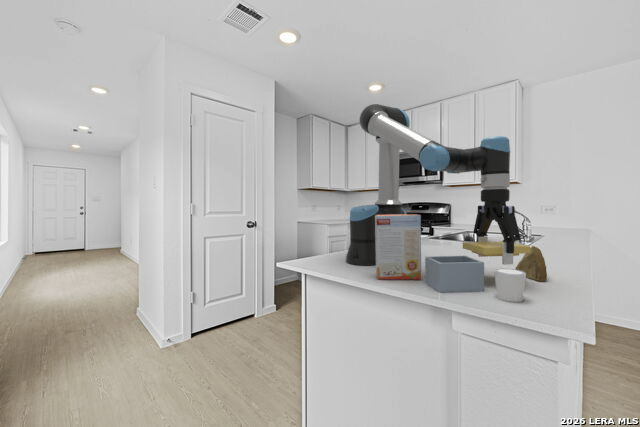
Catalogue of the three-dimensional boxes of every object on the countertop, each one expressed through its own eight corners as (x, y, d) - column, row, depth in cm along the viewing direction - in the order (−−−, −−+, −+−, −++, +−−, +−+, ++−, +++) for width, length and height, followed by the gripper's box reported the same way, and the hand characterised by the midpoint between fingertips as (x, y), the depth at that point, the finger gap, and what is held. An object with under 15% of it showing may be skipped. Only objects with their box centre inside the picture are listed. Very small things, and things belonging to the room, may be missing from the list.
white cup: (528, 297, 74) (529, 270, 73) (522, 305, 69) (523, 276, 69) (498, 291, 79) (498, 266, 78) (490, 298, 74) (490, 271, 74)
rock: (558, 276, 84) (554, 265, 92) (537, 252, 86) (535, 243, 94) (522, 292, 90) (521, 280, 98) (503, 270, 92) (503, 260, 100)
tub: (425, 282, 89) (425, 256, 88) (464, 281, 89) (465, 255, 89) (439, 292, 79) (439, 263, 79) (483, 290, 80) (484, 262, 79)
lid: (462, 251, 93) (462, 242, 93) (504, 250, 94) (504, 241, 94) (483, 257, 82) (483, 247, 82) (530, 256, 83) (530, 246, 83)
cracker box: (417, 275, 97) (417, 213, 96) (421, 280, 91) (421, 214, 90) (375, 275, 98) (374, 214, 97) (376, 279, 92) (376, 215, 91)
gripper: (462, 190, 99) (462, 253, 100) (510, 187, 76) (509, 269, 77) (483, 190, 99) (483, 252, 100) (537, 186, 76) (536, 268, 77)
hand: (494, 260), depth 88 cm, fingers closed on lid, 11 cm apart
